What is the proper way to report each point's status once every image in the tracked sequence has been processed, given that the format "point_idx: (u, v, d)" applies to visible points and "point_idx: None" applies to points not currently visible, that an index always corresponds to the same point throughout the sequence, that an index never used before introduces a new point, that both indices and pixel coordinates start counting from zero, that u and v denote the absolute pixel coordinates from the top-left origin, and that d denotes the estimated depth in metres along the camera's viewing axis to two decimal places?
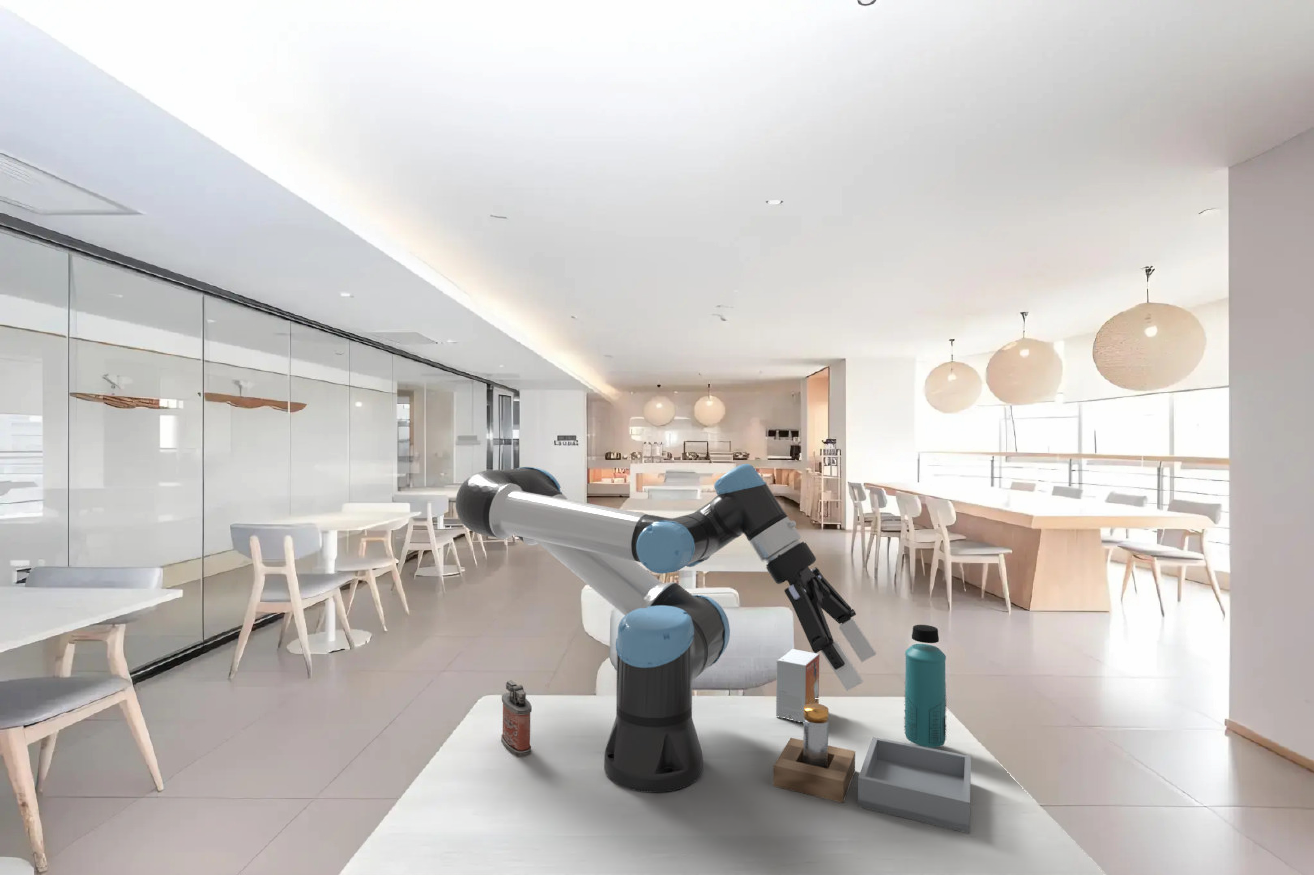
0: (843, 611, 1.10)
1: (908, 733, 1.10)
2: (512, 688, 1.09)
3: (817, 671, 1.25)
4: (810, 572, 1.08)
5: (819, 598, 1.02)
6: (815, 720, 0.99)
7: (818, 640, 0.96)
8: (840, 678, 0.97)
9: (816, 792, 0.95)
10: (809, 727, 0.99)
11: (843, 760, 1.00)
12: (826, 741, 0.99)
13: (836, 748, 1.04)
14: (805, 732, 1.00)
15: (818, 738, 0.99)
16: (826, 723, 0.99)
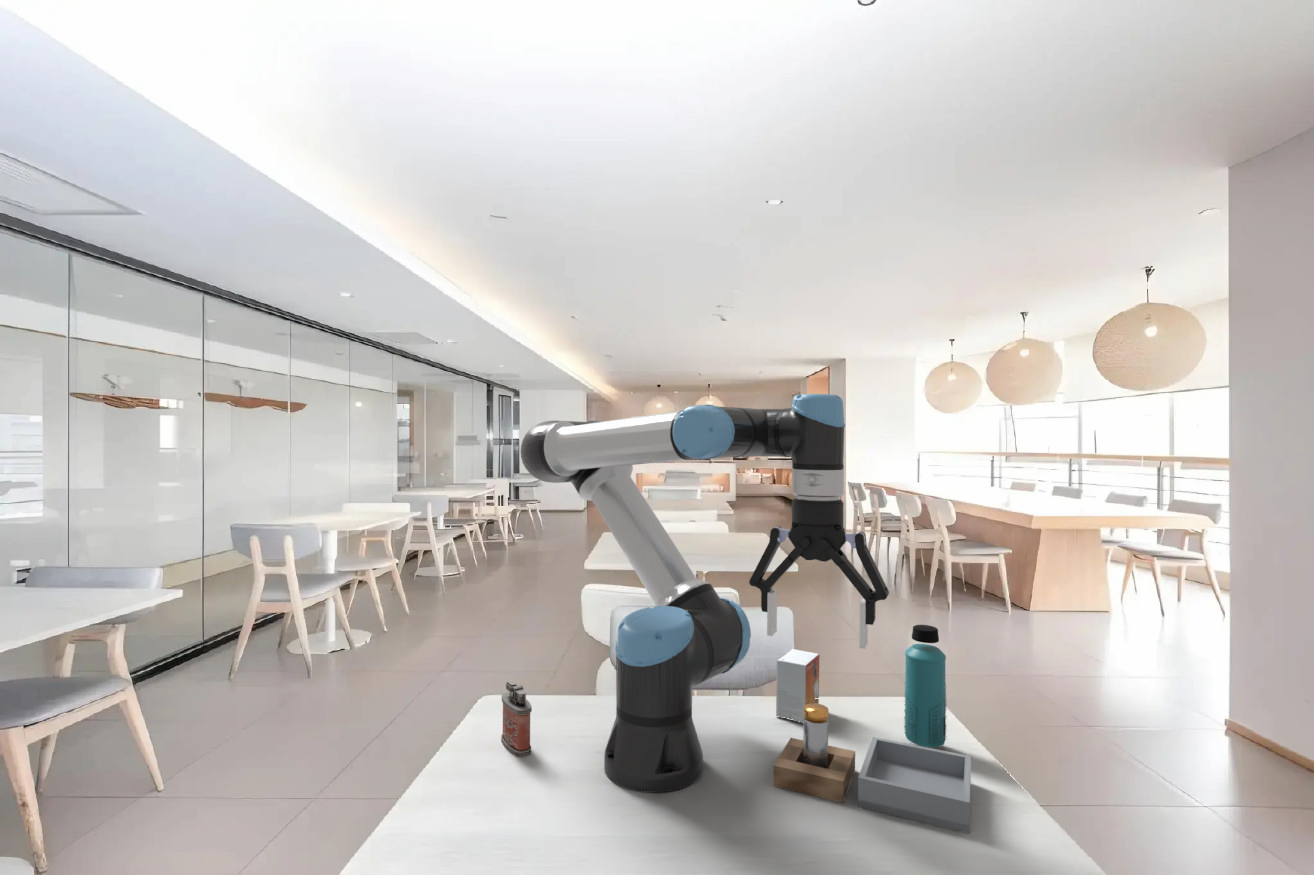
0: (858, 590, 0.97)
1: (908, 733, 1.10)
2: (512, 688, 1.09)
3: (817, 671, 1.25)
4: (832, 532, 0.98)
5: (792, 555, 1.00)
6: (815, 720, 0.99)
7: None
8: None
9: (816, 792, 0.95)
10: (809, 727, 0.99)
11: (843, 760, 1.00)
12: (826, 741, 0.99)
13: (836, 748, 1.04)
14: (805, 732, 1.00)
15: (818, 738, 0.99)
16: (826, 723, 0.99)
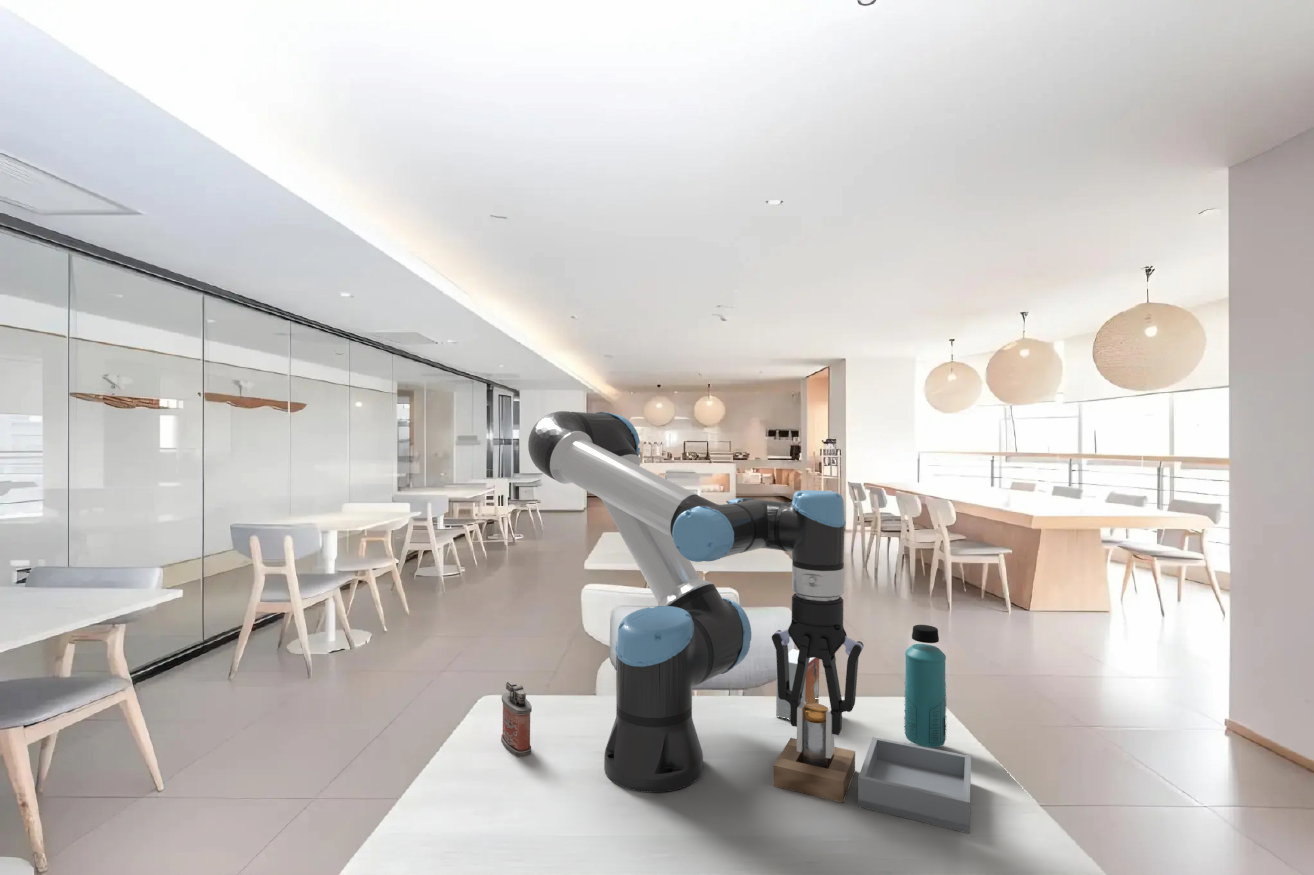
0: None
1: (908, 733, 1.10)
2: (512, 688, 1.09)
3: (817, 671, 1.25)
4: (835, 631, 0.98)
5: (801, 658, 1.00)
6: (815, 720, 0.99)
7: None
8: None
9: (816, 792, 0.95)
10: (809, 727, 0.99)
11: (843, 760, 1.00)
12: None
13: (836, 748, 1.04)
14: (805, 732, 1.00)
15: (818, 738, 0.99)
16: None
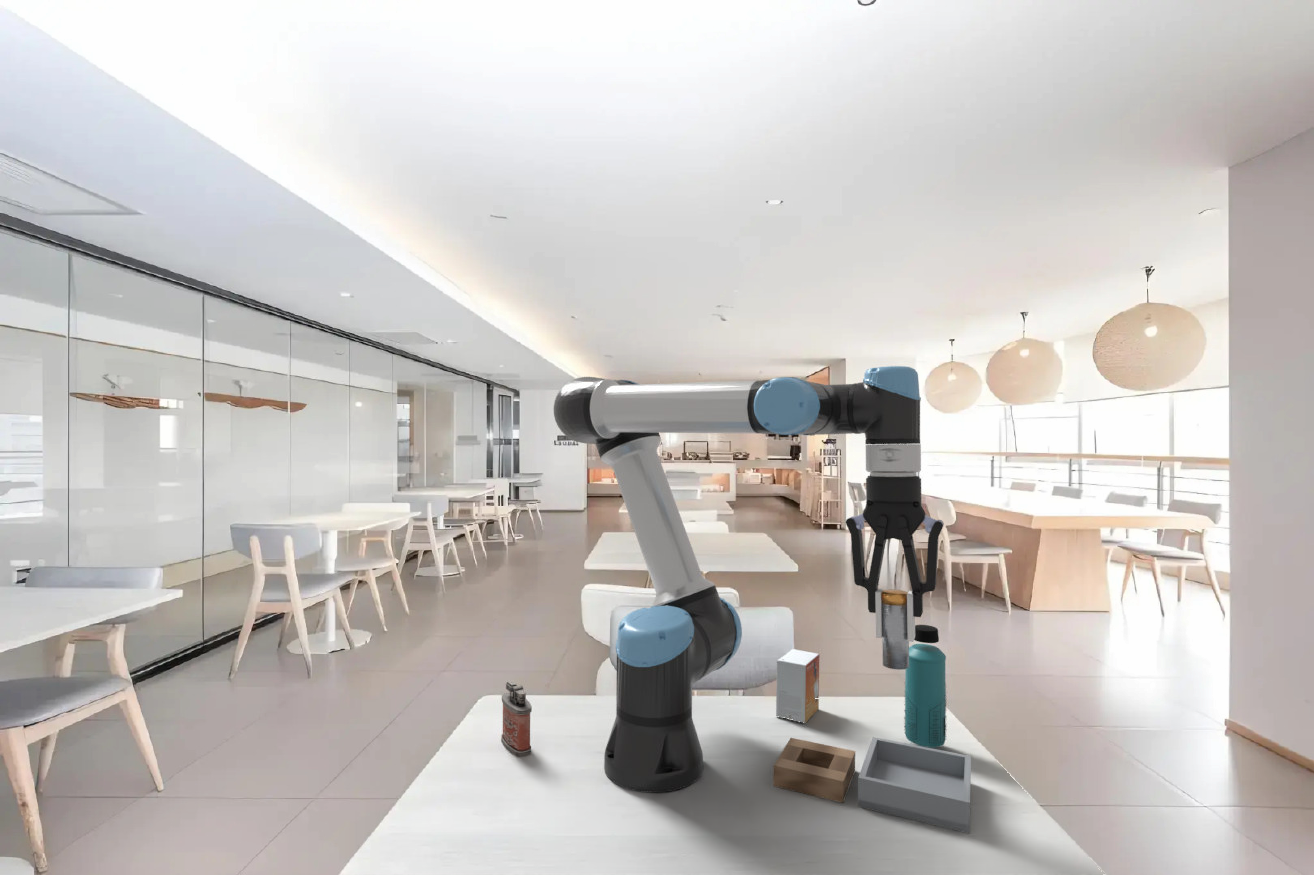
0: None
1: (908, 733, 1.10)
2: (512, 688, 1.09)
3: (817, 671, 1.25)
4: (914, 508, 0.95)
5: (879, 540, 0.96)
6: (895, 602, 0.95)
7: None
8: None
9: (816, 792, 0.95)
10: (889, 610, 0.95)
11: (843, 760, 1.00)
12: None
13: (836, 748, 1.04)
14: (884, 616, 0.96)
15: (899, 621, 0.95)
16: (906, 606, 0.95)
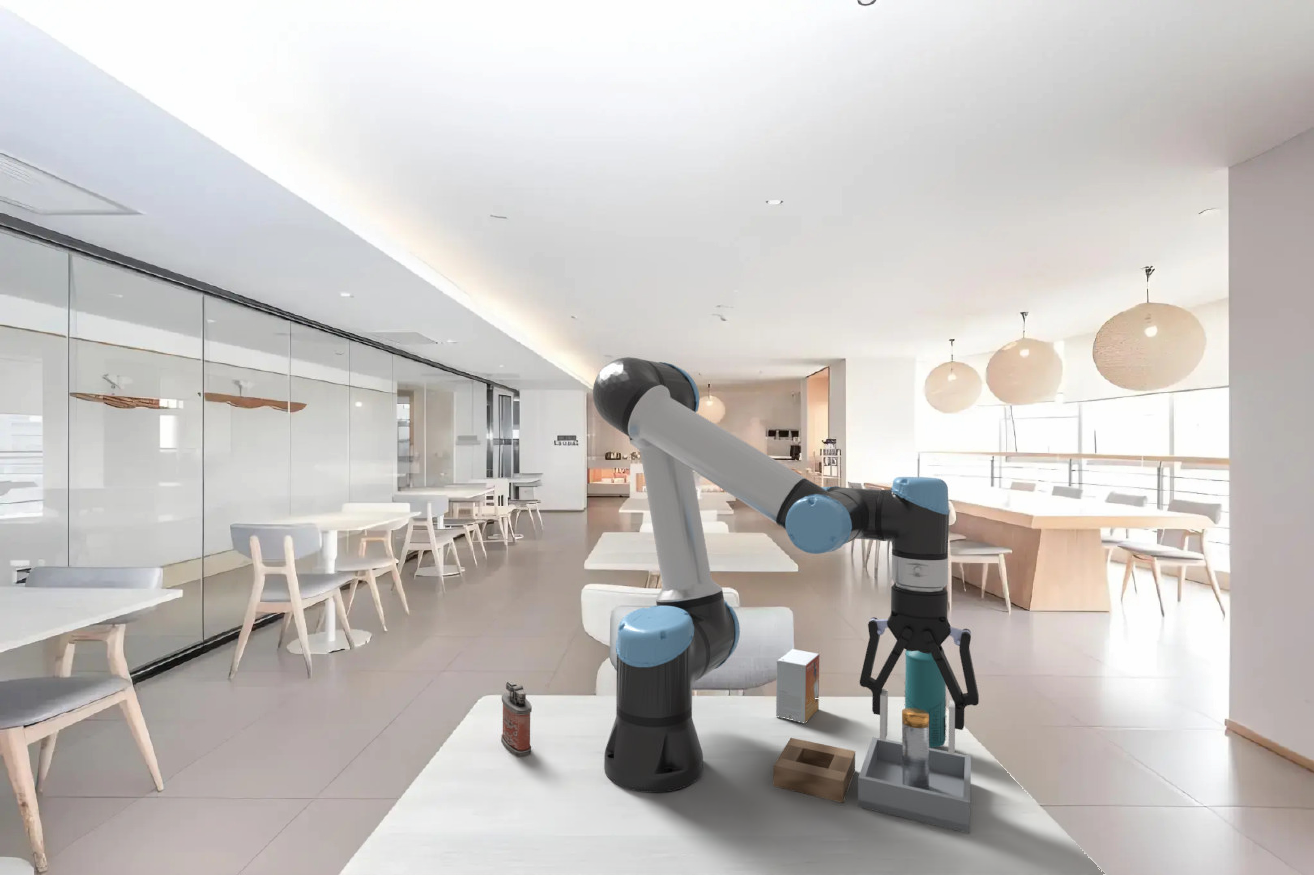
0: (949, 691, 0.93)
1: None
2: (512, 688, 1.09)
3: (817, 671, 1.25)
4: (938, 623, 0.94)
5: (897, 650, 0.96)
6: (917, 725, 0.95)
7: None
8: None
9: (816, 792, 0.95)
10: (910, 732, 0.95)
11: (843, 760, 1.00)
12: (928, 747, 0.95)
13: (836, 748, 1.04)
14: (905, 738, 0.96)
15: (920, 744, 0.95)
16: (927, 728, 0.95)
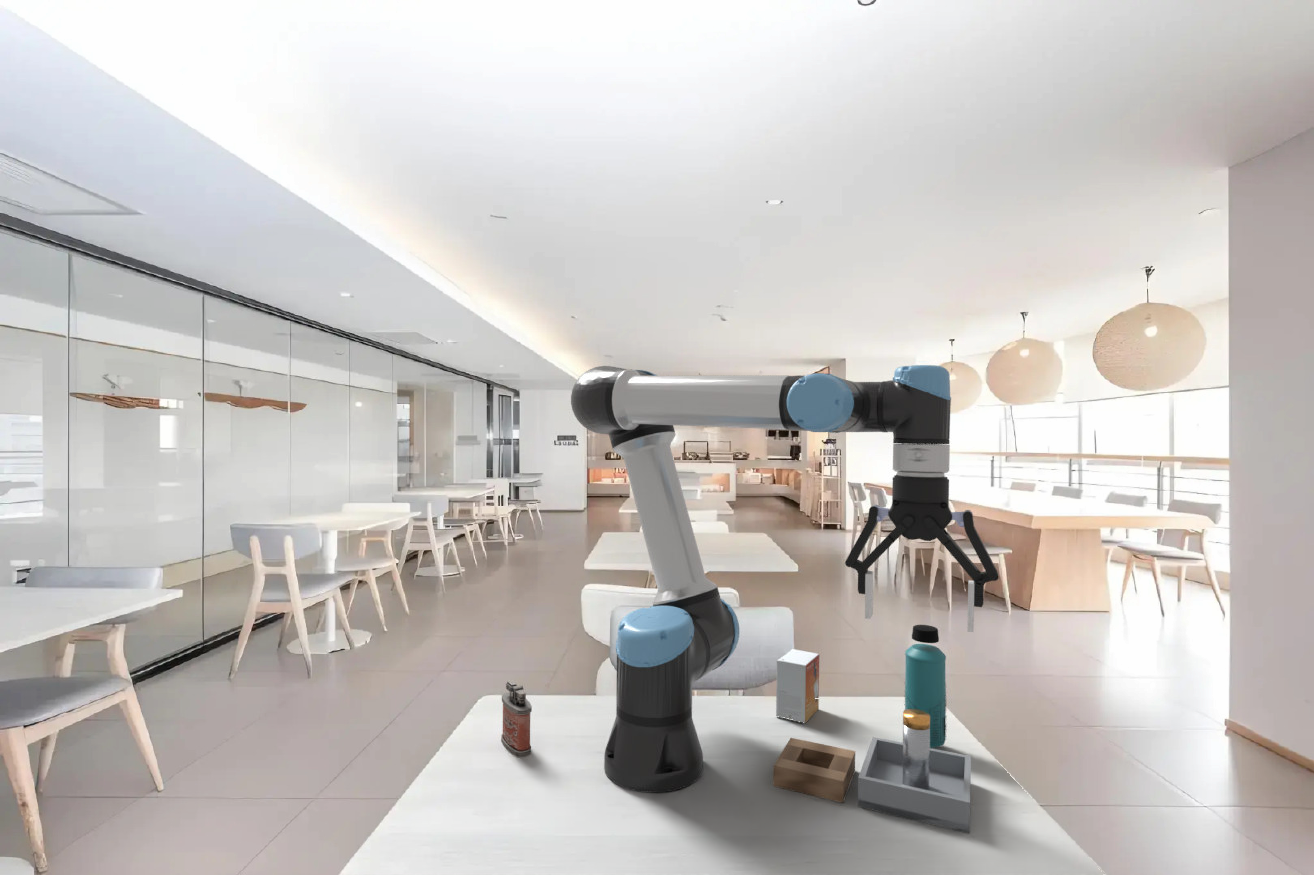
0: (966, 571, 0.93)
1: None
2: (512, 688, 1.09)
3: (817, 671, 1.25)
4: (937, 511, 0.94)
5: (894, 535, 0.96)
6: (918, 727, 0.94)
7: None
8: None
9: (816, 792, 0.95)
10: (911, 734, 0.95)
11: (843, 760, 1.00)
12: (928, 748, 0.95)
13: (836, 748, 1.04)
14: (906, 739, 0.96)
15: (921, 746, 0.94)
16: (928, 730, 0.95)
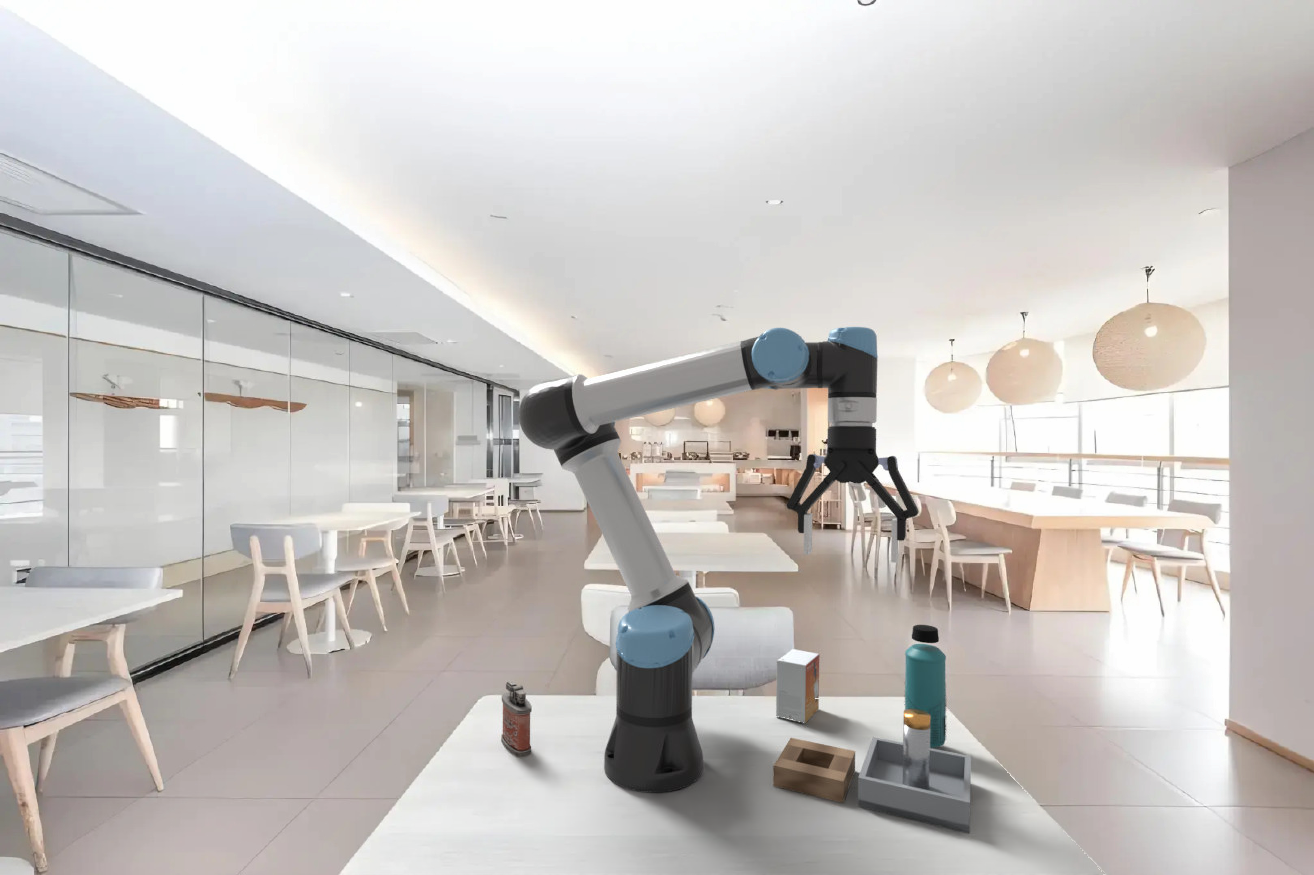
0: (890, 509, 1.04)
1: None
2: (512, 688, 1.09)
3: (817, 671, 1.25)
4: (865, 456, 1.06)
5: (828, 479, 1.08)
6: (918, 726, 0.95)
7: None
8: None
9: (816, 792, 0.95)
10: (911, 734, 0.95)
11: (843, 760, 1.00)
12: (929, 748, 0.95)
13: (836, 748, 1.04)
14: (906, 739, 0.96)
15: (921, 745, 0.94)
16: (929, 730, 0.95)
